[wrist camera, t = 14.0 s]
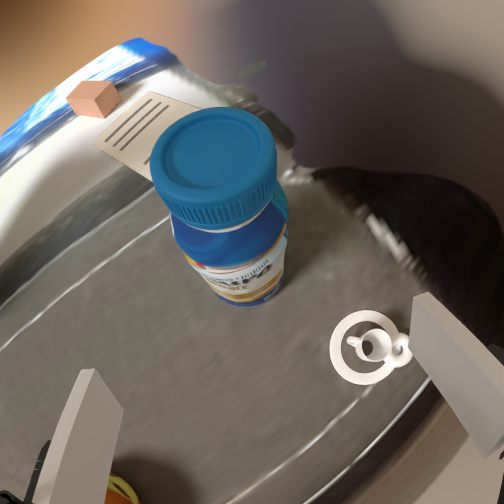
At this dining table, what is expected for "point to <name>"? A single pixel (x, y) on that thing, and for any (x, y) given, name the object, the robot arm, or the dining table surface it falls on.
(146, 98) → the letter
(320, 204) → the dining table surface
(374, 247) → the dining table surface
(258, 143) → the beverage bottle
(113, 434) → the robot arm
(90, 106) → the block
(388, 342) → the teacup and saucer
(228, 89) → the dining table surface
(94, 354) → the dining table surface
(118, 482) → the cheeseburger
